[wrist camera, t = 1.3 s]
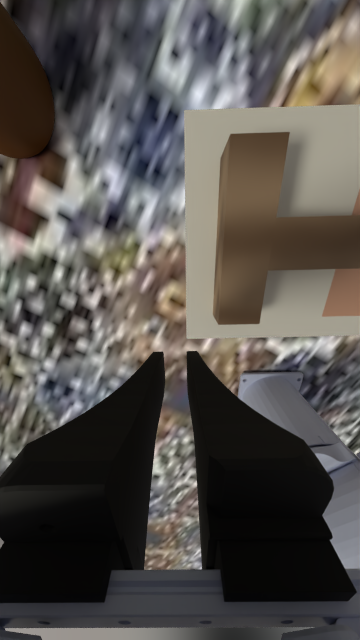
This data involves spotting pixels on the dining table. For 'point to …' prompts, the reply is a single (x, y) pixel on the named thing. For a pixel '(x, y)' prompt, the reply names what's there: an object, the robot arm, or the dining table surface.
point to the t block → (267, 229)
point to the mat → (295, 201)
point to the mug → (22, 95)
